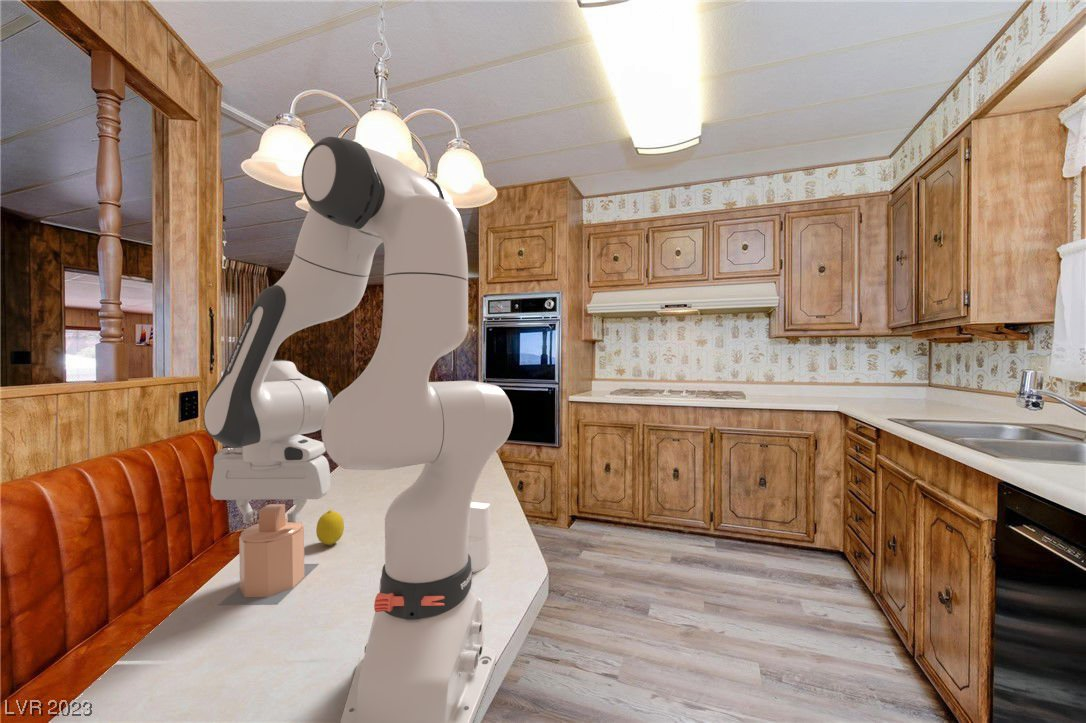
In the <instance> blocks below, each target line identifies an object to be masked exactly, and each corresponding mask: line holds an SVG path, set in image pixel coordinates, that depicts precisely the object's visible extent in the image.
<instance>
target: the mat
mask: <svg viewBox="0 0 1086 723" xmlns="http://www.w3.org/2000/svg"><path fill="white" fill-rule="evenodd" d="M319 565H320V564H319V563H304V578H303V579H302V580H301V581H299V582H298V583H297V584H296V585H295V586H294V587H293V588H291V589H288V590H286V591H283V592H280V593H277V594H274V595H271V596H269V597H245V596H244V595H243V593H242V591H241V590H240V587H238V588H237V589H236V590H235V591H234V592H232V593H231V594H229V595H228V596H227V597H226V598H224V599H223V600H222V601H221V602H219V603H218V604H217V605H218V606H244V605H245V606H248V605H249V606H253V605H255V606H257V605H259V606H260V605H261V606H262V605H266V606H267V605H269V606H270V605H279V603H280V602H283V600H284V599H285V598H286V597H287V596H288V595H289V594H290V593H291V592H292V591H293V590H294V589H295V588H296V587H298V585H299V584H300V583H301V582H303V580H304V579H306V578H307V577H308V576H309V575H310V574H311V572H313V571H314V570H315V568H317V567H318V566H319Z"/></svg>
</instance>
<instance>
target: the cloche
mask: <svg viewBox="0 0 1086 723" xmlns="http://www.w3.org/2000/svg"><path fill="white" fill-rule="evenodd" d="M238 539H239V540H238V541H239V543H238V544H239V547H238V548H239V588H240V590H241V591H242V593H243V595H244V596H245V597H269V596H271V595H274V594H277V593H280V592H283V591H286V590H288V589H291V588H293V587H294V586H295V585H296V584H297V583H298V582H299V581H301V580H302V579H303V578H304V564H305V527H304V526H303V522H302V520H300V521H298V522H297V523H288V518H286V504H285V503H279V504H278V503H277V504H276V503H273V504H271V503H270V504H267V505H265V506H264V507H262V508H260V509H259V510H258V523H256V524H254V525H251V526H249V527H247V528H245V529H244V530H243V531H241V533H240V536H239V537H238ZM304 579H305V578H304ZM304 579H303V580H304ZM303 580H302V581H303ZM302 581H301V582H302Z"/></svg>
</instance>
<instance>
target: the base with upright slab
mask: <svg viewBox="0 0 1086 723" xmlns="http://www.w3.org/2000/svg"><path fill="white" fill-rule="evenodd" d="M468 554H469V555H470V557H471V565H472V572H473V573H477V572H480V571H482V570H484V569H486V568H487V567H488V566H489V565H490V563H491V503H486V502H478V501H477V502H475V501H471V506H470V515H469V532H468Z"/></svg>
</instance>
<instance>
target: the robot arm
mask: <svg viewBox="0 0 1086 723" xmlns="http://www.w3.org/2000/svg"><path fill="white" fill-rule="evenodd" d="M301 189H302V192H303V194H304V196H305V200H306V201H307V203H308V204H309V206H310V207H309V209H308V211H307V214H306V216H305V217H304V221H303V223H302V226H301V228H300V231H299V234H298V238H297V240H296V244H295V248H294V253H293V257H292V260H291V262H290V264H289V266H288V268H287V270H286V271H285V272H284V274H283V275H282V276H281V278H279V280H277V282H276V283H274V284H273V285H271V286H268V287H266V288H264V289H263V290H262V291H261V292H260V293H259V294H258V296H257V297H256V299H255V301H254V302H253V305H252V307H251V309H250V311H249V313H248V315H247V318H246V320H245V322H244V324H243V327H242V329H241V332H240V334H239V336H238V338H237V340H236V344H235V346H234V347H233V350H232V353H231V355H230V357H229V359H228V362H227V363H226V366H225V369H224V371H223V373H222V376H221V378H220V379H219V381H218V382H217V384H216V386H215V387H214V389H213V390H212V392H211V393H210V394H209V396H208V398H207V400H206V403H205V406H204V411H203V422H204V429H205V431H206V433H207V434H208V435H209V436H210V437H211V438H212V439H214V440H215V441H217V442H219V443H220V444H222V445H224V446H227V447H224V448H222V449H221V450H219V451H217V452H216V453H215V454H214V456H213V471H212V477H211V484H210V495H211V496H212V497H213V500H217V501H218V500H219V501H223V500H224V501H225V500H226V501H231V500H232V501H233V500H235V502H236V503H235V505H236V507H237V509H238V510H239V512H240V514H241V515H242V522H243V524H253V523H254V522H256V521H257V519H258V516H257V515H258V510H253V508H252V506H251V504H250V502H252V500H253V501H255V500H257V501H258V500H259V501H260V500H262V501H263V500H264V501H265V500H266V501H267V500H275V501H276V500H292V504H293V505H294V506H295V507H294V509H293V510H291V511H290V512H289V513H287V518H286V519H288V523H297V522H298V521H301V518H302V517H301V516H302V515H301V513H302V510H303V509H304V507H305V505H306V503H307V501H308V500H319V499H321V498H323V497H324V496H326V495H327V494H328V493H329V491H330V490H331V486H332V485H331V471H330V470H331V469H330V463H329V461H328V459H327V457H325V456H324V455H323V454H324V453H327V454H328V456H329V458H330V459H331V460H332V461H333V462H334V463H335V464H336V465H337V466H339V468H341V469H343V470H352V471H353V470H356V471H385V470H391V469H392V470H393V469H398V468H405V467H411V466H417V465H418V466H419V465H423V469H422V471H421V472H420V474H419V475H418V476H417V478H416V479H415V481H414V482H413V483H412V484H411V485H410V486H408V487H407V488H406V489H404V490H403V491H402V492H400V493H399V494H398V495H397V496H396V497H395V498H394V499H393V500H392V501H391V503H390V505H389V506H388V509H387V511H386V514H385V517H384V565H383V566H382V569H381V576H380V578H379V579H380V580H379V587H378V588H379V592H378V593H377V594H376V596H375V599H374V605H373V608H374V611H375V612H374V615H373V619H372V622H371V627H370V631H369V635H368V640H367V643H366V645H365V647H364V653H362V654H361V655H360V657H359V659H358V662H357V665H356V668H355V672H354V675H353V678H352V682H351V684H350V685H351V686H350V688H349V691H348V694H347V698H346V702H345V706H344V709H343V712H342V716H341V718H340V721H339V723H473V722H474V721H475V718H476V715H477V713H478V711H479V707H480V705H481V704H482V701H483V698H484V695H485V693H486V690H487V687H488V686H489V682H490V681H491V678H492V675H493V673H494V670H495V667H496V665H497V662H496V659H497V654H496V651H495V650H494V649H492V648H490V647H489V646H486V645H485V634H484V633H485V632H484V611H483V610H484V609H483V608H484V607H483V600H482V599H481V598H480V597H479V596H478V595H477V594H476V593H475V592H474V590H473V588H472V583H473V581H472V577H473V573H472V565H471V557H470V555H469V554H468V532H469V515H470V506H471V502H472V499H473V495H474V492H475V489H476V487H477V484H478V481H479V478H480V477H481V475H482V473H483V471H484V469H485V467H486V466H487V463H488V462H489V461H490V459H491V458H492V457H493V456H494V454H495V453H496V452H497V451H498V450H499V449H500V448H501V447H502V446H503V445H504V444H505V443H506V441H507V440H508V438H509V436H510V434H511V431H512V428H513V424H514V412H513V410H514V409H513V406H512V403H511V401H510V399H509V397H508V395H507V394H506V392H505V391H504V390H503V388H501V387H500V386H499V385H496V384H491V383H487V382H481V381H475V380H454V381H453V380H452V381H450V380H449V381H430V380H429V379H430V374H431V372H432V369H433V367H434V366H435V363H436V362H437V361H438V360H439V359H440V358H442V357H444V356H445V355H448V354H449V353H451V352H453V351H454V350H456V349H457V348H458V347H460V346H461V344H462V343H463V342H464V340H465V339H466V337H467V334H468V332H469V264H468V252H467V251H468V250H467V243H466V237H465V230H464V226H463V221H462V217H461V215H460V213H459V211H458V210H457V208H456V207H455V205H454V202H453V199H452V197H451V195H450V194H449V193H448V192H447V190H446V189H445V188H444V187H443V186H442V185H440V184H439V183H438V182H436V181H435V180H434V179H432V178H430V177H426V176H424V175H422V174H421V173H419V172H418V171H416V170H414V169H413V168H411V167H409V166H407V165H405V164H404V163H403V162H401V161H400V160H398V159H396V158H394V157H392V156H390V155H387V154H385V153H382V152H380V151H377V150H373V149H371V148H369V147H364V146H363V145H362V144H361V143H360V142H357V141H354V140H351V139H347V138H342V137H337V136H327V137H323V138H322V139H319V141H317V142H316V143H315V144H314V145H313V146H312V147H311V148H310V149H309V151H308V153H307V154H306V157H305V159H304V162H303V166H302V170H301ZM382 243H383V250H384V260H383V261H384V262H383V304H382V305H383V308H382V320H381V329H380V330H381V332H380V337H379V340H378V344H377V347H376V349H375V351H374V354H373V356H372V358H371V360H370V361H369V363H368V364H367V366H366V367H365V369H364V370H363V372H362V373H361V374H360V375H359V376H358V377H357V378H356V379H355V380H353V381H352V383H351V384H349V386H347V387H345V388H344V389H343V390H341V391H339V393H338V394H337V395H335V397H333V394H332V392H331V391H330V389H329V387H328V386H326V385H325V383H323V382H322V381H320V380H315V379H312V378H309V377H308V376H305V375H304V374H302V373H301V372H299V370H298V368H297V366H296V364H295V363H294V362H292V361H290V360H286V359H275V356H276V353H277V352H278V349H279V347H280V345H281V344H282V343H283V342H284V341H285V340H286V339H287V338H289V337H290V336H291V335H293V334H295V333H297V332H299V331H301V330H304V329H306V328H309V327H312V326H315V325H318V324H322V323H326V322H329V321H334V320H336V319H340V318H342V317H344V316H345V315H347V314H349V313H351V312H352V311H353V310H355V309H356V308H357V307H358V305H359V304H360V302H361V300H362V298H363V297H364V294H365V291H366V288H367V284H368V280H369V276H370V274H371V270H372V266H373V260H374V255H375V253H376V250H377V249H378V247H379V246H380V245H382ZM317 431H321V439H322V441H320V440H316V439H314V438H313V439H312V438H310V437H307V436H304V434H311V433H315V432H317ZM495 664H496V665H495Z"/></svg>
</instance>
